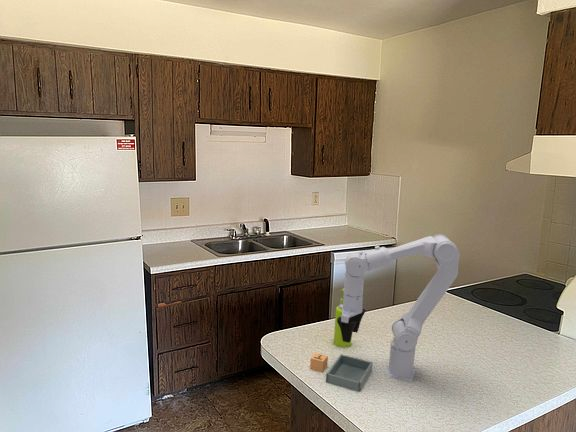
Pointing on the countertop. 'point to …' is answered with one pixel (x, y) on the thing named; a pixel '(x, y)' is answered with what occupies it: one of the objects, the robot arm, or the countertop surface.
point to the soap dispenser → (337, 334)
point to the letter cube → (318, 362)
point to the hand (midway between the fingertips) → (350, 336)
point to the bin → (349, 372)
